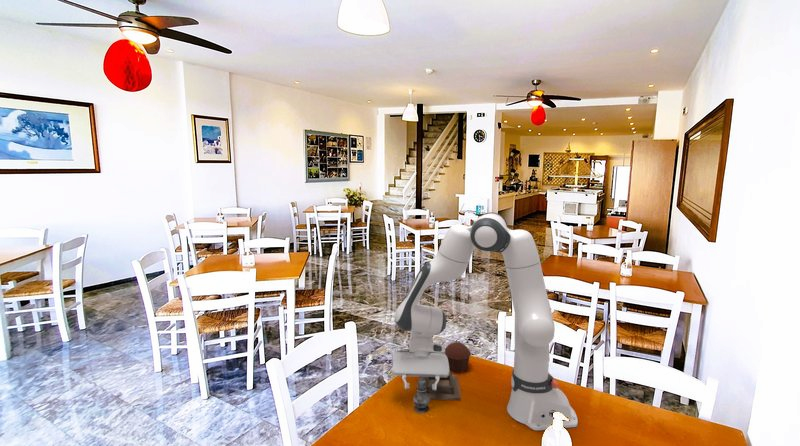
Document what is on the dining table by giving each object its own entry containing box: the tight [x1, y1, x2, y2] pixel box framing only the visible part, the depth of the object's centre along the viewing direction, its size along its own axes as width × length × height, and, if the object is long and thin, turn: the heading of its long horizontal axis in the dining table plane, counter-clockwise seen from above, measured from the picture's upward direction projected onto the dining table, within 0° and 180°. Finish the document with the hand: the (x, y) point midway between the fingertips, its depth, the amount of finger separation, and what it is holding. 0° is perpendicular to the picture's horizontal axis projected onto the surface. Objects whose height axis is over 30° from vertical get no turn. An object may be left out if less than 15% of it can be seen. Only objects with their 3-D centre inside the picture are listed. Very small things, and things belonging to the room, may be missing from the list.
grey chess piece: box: [412, 377, 431, 414], centre depth 135 cm, size 6×6×12 cm
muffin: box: [445, 341, 472, 373], centre depth 163 cm, size 12×11×10 cm
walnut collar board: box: [419, 372, 462, 401], centre depth 148 cm, size 15×15×4 cm
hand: (420, 389), depth 135 cm, fingers open, 8 cm apart
